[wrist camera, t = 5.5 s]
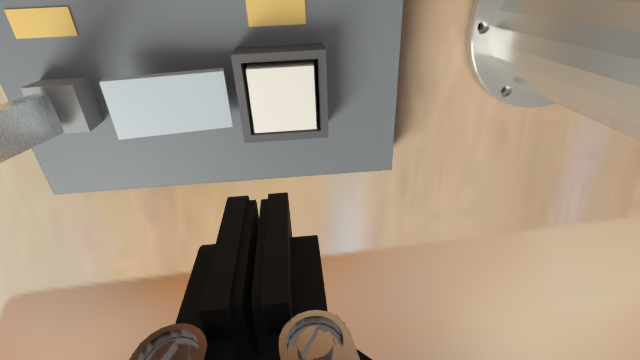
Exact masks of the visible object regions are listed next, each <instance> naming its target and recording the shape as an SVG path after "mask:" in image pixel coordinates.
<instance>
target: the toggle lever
mask: <svg viewBox="0 0 640 360" xmlns="http://www.w3.org/2000/svg"><path fill="white" fill-rule="evenodd" d="M62 133H64V130H63V127H62V125H61V123H60V120H59V118H58V115H57V113H56V111H55V108H54V106H53V104H52V101H51V99H50V96H49V94H32V95H29V96H26V97H23V98H20V99H17V100H14V101H11V102H8V103H5V104H2V105H0V163H1V162H3V161H5V160H7V159H10V158H12V157H14V156H16V155H18V154H20V153H22V152H24V151H26V150H28V149H30V148H32V147H35V146H37V145H39V144H41V143H43V142H45V141H47V140H49V139H51V138H53V137H55V136H58V135H60V134H62Z"/></svg>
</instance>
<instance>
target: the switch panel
mask: <svg viewBox="0 0 640 360" xmlns="http://www.w3.org/2000/svg"><path fill="white" fill-rule="evenodd" d="M402 13H403V0H0V84H1V86H2V88H3V90H4V92H5V94H6V96H7V98H8V100H9V102H11V101H14V100H17V99H20V98H23V97H26V96H29V95H32V94H49V96H50V99H51V101H52V104H53V106H54V108H55V111H56V113H57V115H58V118H59V120H60V123H61V125H62V127H63V130H64V133H62V134H60V135H58V136H55V137H53V138H51V139H49V140H47V141H45V142H43V143H41V144H39V145H37V146H35V147H32V150H33V152H34V154H35V156H36V158H37V160H38V162H39V165H40V167H41V169H42V171H43V173H44V175H45V177H46V179H47V181H48V183H49V185H50V187H51V189H52V191H53V194H54V195H56V194H69V193H83V192H96V191H110V190H123V189H137V188H150V187H164V186H177V185H191V184H205V183H218V182H232V181H245V180H259V179H272V178H286V177H299V176H313V175H326V174H340V173H354V172H367V171H381V170H392V157H393V143H394V128H395V114H396V100H397V85H398V71H399V56H400V42H401V28H402ZM307 59H312V62H313V65H314V82H315V104H316V126H317V129H310V130H295V131H280V132H265V133H255V132H254V125H253V118H252V111H251V104H250V96H249V89H248V82H247V75H246V68H247V66H248V63H254V62H271V61H289V60H307ZM215 68H224V73H225V79H226V85H227V91H228V97H229V103H230V109H231V115H232V120H233V127H227V128H219V129H210V130H201V131H192V132H183V133H175V134H166V135H157V136H148V137H140V138H131V139H122V140H119V139H118V136H117V133H116V130H115V127H114V124H113V121H112V118H111V115H110V113H109V110H108V107H107V104H106V101H105V98H104V95H103V92H102V89H101V86H100V84H99V82H100V81H101V80H102V79H103V78H109V77H121V76H133V75H144V74H156V73H168V72H180V71H191V70H203V69H215Z"/></svg>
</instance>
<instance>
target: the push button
mask: <svg viewBox="0 0 640 360" xmlns="http://www.w3.org/2000/svg"><path fill="white" fill-rule="evenodd" d="M246 75H247V82H248V89H249V96H250V104H251V111H252V118H253V125H254V132H255V133H265V132H280V131H295V130H310V129H317V126H316V104H315V82H314V65H313V62H312V59H307V60H289V61H271V62H254V63H248V66H247V68H246Z"/></svg>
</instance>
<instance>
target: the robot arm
mask: <svg viewBox="0 0 640 360" xmlns="http://www.w3.org/2000/svg"><path fill="white" fill-rule="evenodd" d="M480 23H481V26H480V28H479V29H478V25H479V24H480ZM466 50H467V56H468V62H469V65H470V67H471V70H472V72H473V75H474V77H475V78H476V80H477V81H478V83H479V84H480V86H481V87H482V88H483V89H484V90H486V91H487V92H488V93H489V94H490V95H491V96H493V97H495V98H496V99H498V100H500V101H502V102H504V103H507V104H510V105H512V106H517V107H525V108H532V107H543V106H547V105H551V104H555V103H558V104H560V105H562V106H564V107H566V108H569V109H571V110H573V111H575V112H577V113H579V114H582V115H584V116H586V117H588V118H590V119H593V120H595V121H597V122H599V123H601V124H603V125H606V126H608V127H610V128H612V129H614V130H617V131H619V132H621V133H623V134H625V135H628V136H630V137H632V138H634V139H636V140H638V141H640V0H475V1H474V4H473V6H472V9H471V12H470V16H469V21H468V26H467V34H466ZM502 88H503V89H502ZM129 360H372V359H370V358H369V357H367V356H366V355H365V354H363V353H362V352H360V351H359V350H357V349H356V347H355V344H354V342H353V339H352V336H351V333H350V331H349V329H348V327H347V326H346V324H345V322H344V321H342V320H341V319H340V318H339V317H338V316H337V315H334V314H332V313H330V312H328V311H327V304H326V296H325V289H324V281H323V274H322V266H321V258H320V251H319V243H318V236H317V235H314V236H302V237H292V231H291V221H290V211H289V201H288V193H275V194H268V199H262V200H261V207H260V216H259V215H258V208H257V202H256V200H249V197H248V196H237V197H228V199H227V202H226V206H225V210H224V214H223V218H222V222H221V226H220V229H219V233H218V237H217V241H216V244H211V245H202V246H201V247H200V248H199V251H198V254H197V257H196V260H195V263H194V266H193V270H192V273H191V276H190V279H189V282H188V285H187V289H186V292H185V295H184V298H183V301H182V305H181V308H180V311H179V314H178V317H177V320H176V323H175V324H172V325H169V326H166V327H163V328H161V329H159V330H157V331H155V332H154V333H152V334H150V335H149V336H148V337H147V338H146V339H145V340H143V341H142V342H141V343H140V344H139V346H138V347H137V349H136V350H135V351H134V353H133V354H132V356H131V358H130V359H129Z"/></svg>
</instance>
